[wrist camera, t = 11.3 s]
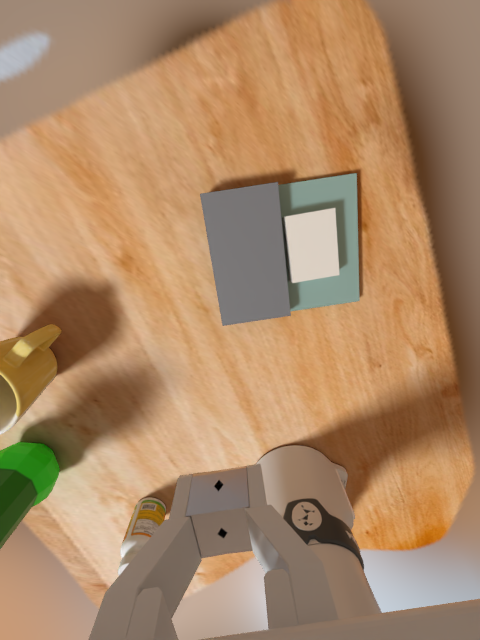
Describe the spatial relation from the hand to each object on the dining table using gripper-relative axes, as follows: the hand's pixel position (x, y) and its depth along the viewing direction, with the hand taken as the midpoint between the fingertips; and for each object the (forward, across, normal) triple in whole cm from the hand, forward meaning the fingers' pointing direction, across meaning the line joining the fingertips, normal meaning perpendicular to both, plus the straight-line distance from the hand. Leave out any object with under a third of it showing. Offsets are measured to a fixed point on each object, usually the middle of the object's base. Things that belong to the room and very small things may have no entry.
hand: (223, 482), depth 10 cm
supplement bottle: (+29, +19, +34) cm, 49 cm away
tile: (+28, -12, -6) cm, 31 cm away
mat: (+29, -13, -6) cm, 32 cm away
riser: (+29, -4, -6) cm, 30 cm away
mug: (+29, +27, +3) cm, 40 cm away
